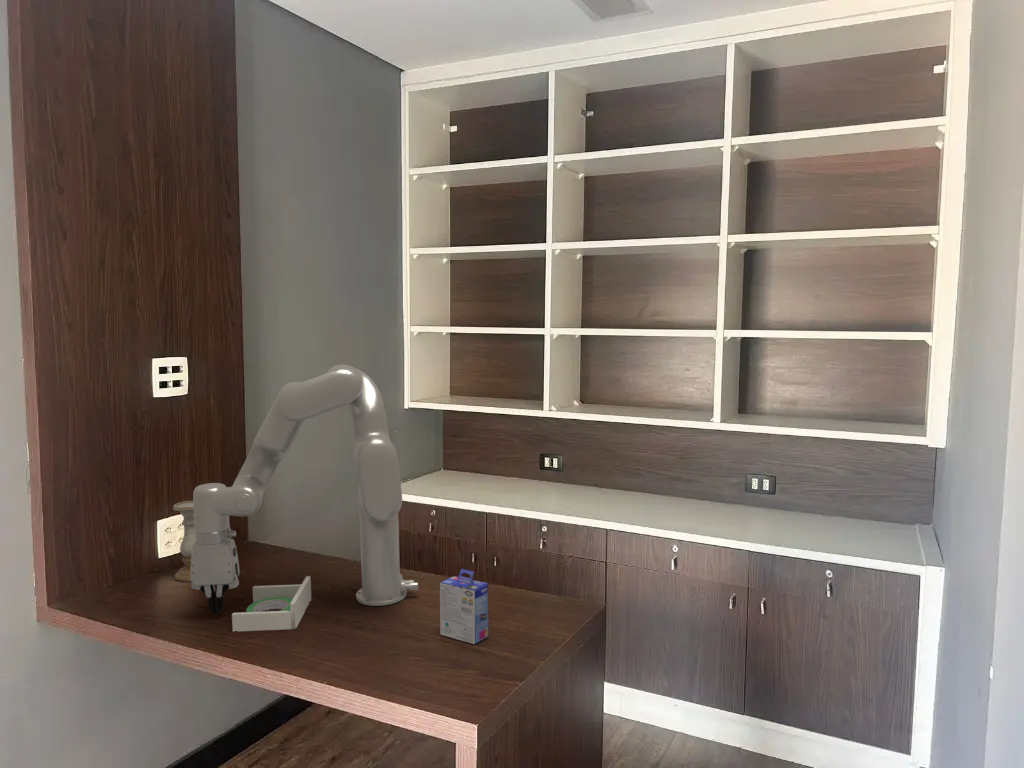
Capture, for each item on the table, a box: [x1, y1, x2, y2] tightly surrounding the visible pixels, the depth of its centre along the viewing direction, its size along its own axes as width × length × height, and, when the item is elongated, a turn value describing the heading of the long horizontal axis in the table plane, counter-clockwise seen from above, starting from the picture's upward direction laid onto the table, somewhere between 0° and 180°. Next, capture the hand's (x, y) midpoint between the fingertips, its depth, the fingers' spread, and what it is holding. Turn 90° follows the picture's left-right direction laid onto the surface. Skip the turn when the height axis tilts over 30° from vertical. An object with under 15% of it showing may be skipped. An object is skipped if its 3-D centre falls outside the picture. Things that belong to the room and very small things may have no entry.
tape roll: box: [245, 597, 292, 612], centre depth 170 cm, size 11×11×3 cm
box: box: [231, 575, 312, 632], centre depth 171 cm, size 14×17×6 cm
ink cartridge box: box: [439, 568, 489, 645], centre depth 158 cm, size 10×6×14 cm, turn 58°
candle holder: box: [172, 500, 196, 582], centre depth 196 cm, size 9×9×20 cm
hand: (216, 611), depth 170 cm, fingers closed
